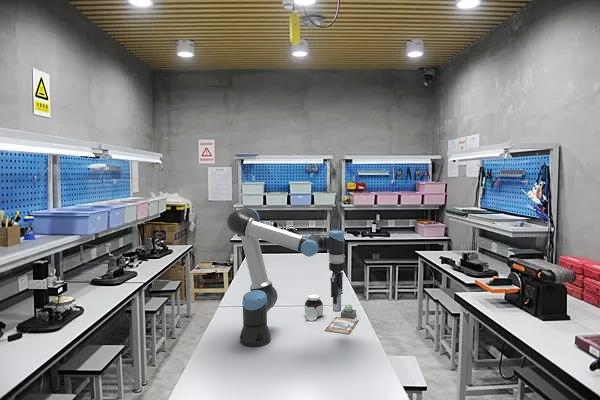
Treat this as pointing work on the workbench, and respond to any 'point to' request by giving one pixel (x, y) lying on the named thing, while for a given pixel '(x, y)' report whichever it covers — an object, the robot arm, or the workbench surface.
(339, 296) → the blue cylinder
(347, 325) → the picture frame
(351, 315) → the button housing
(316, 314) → the spread jar
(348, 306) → the button
